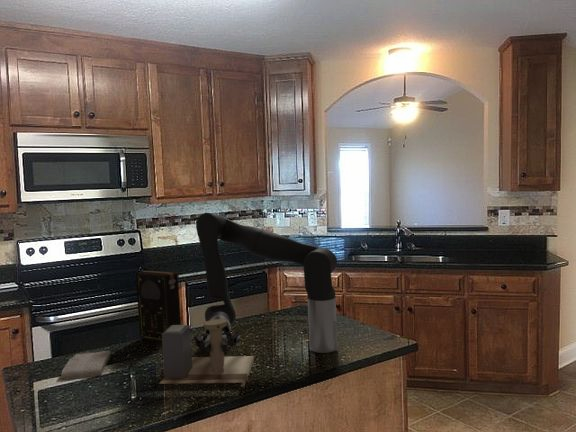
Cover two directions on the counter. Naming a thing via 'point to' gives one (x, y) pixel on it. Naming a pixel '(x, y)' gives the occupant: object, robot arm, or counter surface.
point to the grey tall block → (177, 351)
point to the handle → (216, 344)
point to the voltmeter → (157, 303)
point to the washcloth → (86, 365)
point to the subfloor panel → (202, 373)
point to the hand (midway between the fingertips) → (216, 348)
